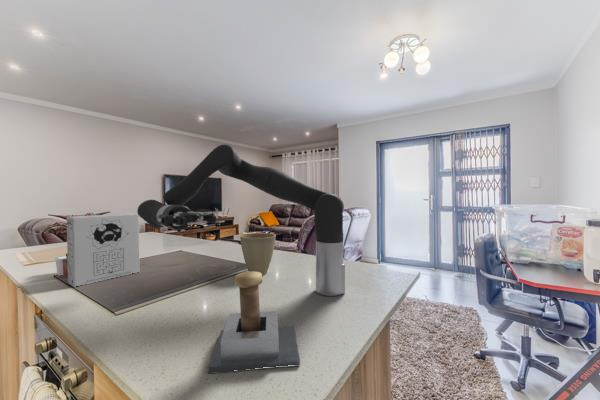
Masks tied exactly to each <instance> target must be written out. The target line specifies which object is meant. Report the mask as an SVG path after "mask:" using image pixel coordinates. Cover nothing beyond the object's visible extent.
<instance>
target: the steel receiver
mask: <svg viewBox="0 0 600 400" xmlns="http://www.w3.org/2000/svg"><path fill="white" fill-rule="evenodd" d="M278 321H279V320H278V311H275V310H274V311H260V329H261V331H252V332H242V331H241V312H239V313H229V315H228V318H227V321H226V323H225V326H224V329H222V330H220V332H219V336H218V339H217V341H216V344H215V347H214V348H213V349H214V350H213V353H212V356H211V358H210V361H209V364H208V367H207V373H208V374H213V373H212V372H221V373H226V372H225V371H233V372H235V371H234V370H246V369H255V368H263V367H276V366H288V365H300V366H301V364H300V363H301V360H300V354H299V348H298V343H297V337H296V331H295V327H294V325H289V326H287V325H286V326H279V322H278ZM223 371H224V372H223ZM246 371H247V370H246Z"/></svg>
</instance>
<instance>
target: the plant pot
mask: <svg viewBox="0 0 600 400" xmlns="http://www.w3.org/2000/svg"><path fill="white" fill-rule="evenodd" d="M276 237H277V235H276V234H275V233H270V232H269V233H268V232H255V233H253V232H252V233H244V234H240V236H239V239H240V245H241V250H242V251H241V252H242V255H243V259H244V262H245V265H246V268H247V272H249V271H256V272H260V273H261V274H262V276H264V275H266V274H267V273H268V270H269V268H270V265H271V262H272V259H273V254H274V251H275V245H276Z"/></svg>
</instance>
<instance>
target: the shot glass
mask: <svg viewBox="0 0 600 400" xmlns="http://www.w3.org/2000/svg"><path fill="white" fill-rule="evenodd" d="M65 258H67V257H66V255H63V256H59V257H56V258H55V266H56V267H55V268H56V274H57V276H60V275H63V261H62V259H65Z"/></svg>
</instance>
